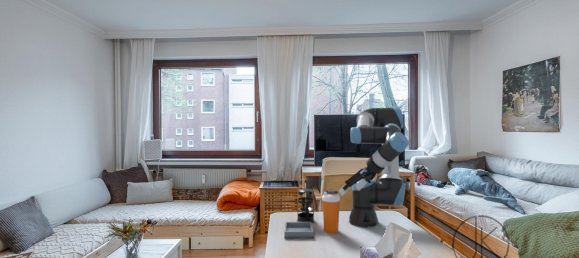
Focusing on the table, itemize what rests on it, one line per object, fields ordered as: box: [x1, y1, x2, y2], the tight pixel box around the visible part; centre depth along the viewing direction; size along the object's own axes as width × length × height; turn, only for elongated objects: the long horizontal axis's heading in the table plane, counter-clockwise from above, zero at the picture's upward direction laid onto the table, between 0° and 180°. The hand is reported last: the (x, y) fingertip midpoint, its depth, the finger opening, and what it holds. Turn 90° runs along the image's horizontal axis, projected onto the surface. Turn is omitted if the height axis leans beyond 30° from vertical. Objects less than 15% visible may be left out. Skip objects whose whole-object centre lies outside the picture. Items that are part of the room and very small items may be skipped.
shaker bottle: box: [321, 189, 341, 235], centre depth 148 cm, size 9×9×20 cm
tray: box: [284, 221, 314, 239], centre depth 146 cm, size 14×14×3 cm
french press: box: [296, 178, 315, 224], centre depth 163 cm, size 12×9×23 cm
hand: (349, 190), depth 140 cm, fingers open, 13 cm apart
